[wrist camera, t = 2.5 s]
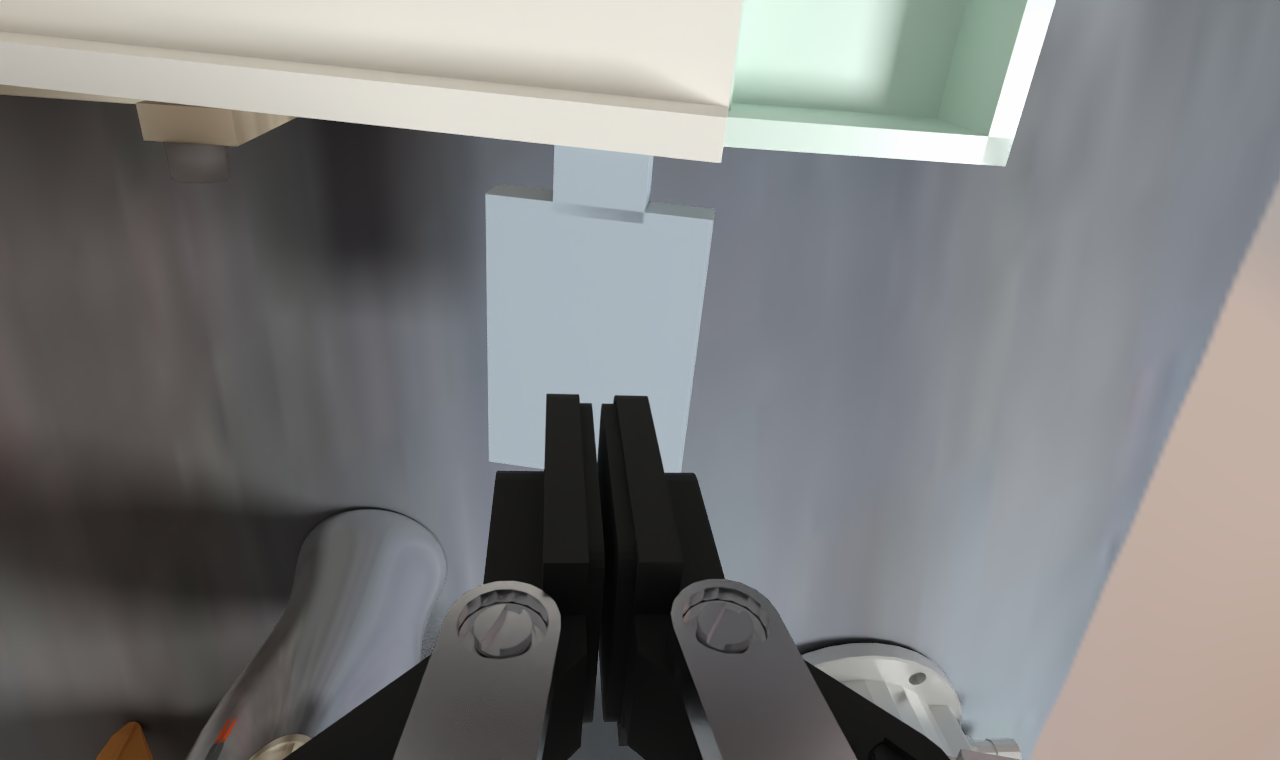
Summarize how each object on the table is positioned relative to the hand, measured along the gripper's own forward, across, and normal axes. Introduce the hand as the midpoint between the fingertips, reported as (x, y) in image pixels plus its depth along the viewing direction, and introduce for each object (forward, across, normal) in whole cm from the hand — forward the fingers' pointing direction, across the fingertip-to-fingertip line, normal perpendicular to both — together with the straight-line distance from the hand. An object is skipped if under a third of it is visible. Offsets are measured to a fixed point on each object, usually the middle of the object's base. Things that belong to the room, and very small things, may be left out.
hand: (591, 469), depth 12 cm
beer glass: (+15, +8, +16) cm, 23 cm away
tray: (+15, -8, -7) cm, 19 cm away
